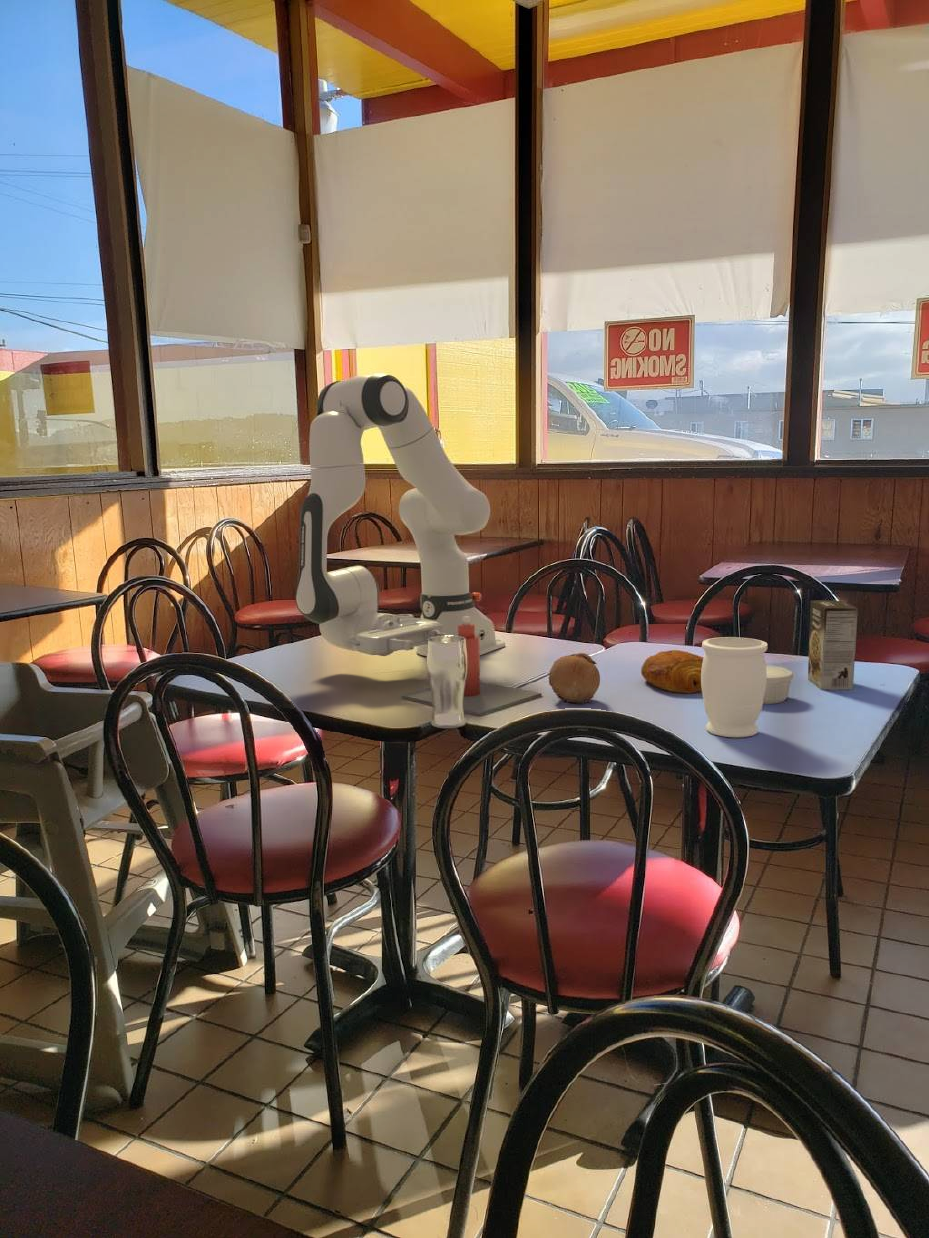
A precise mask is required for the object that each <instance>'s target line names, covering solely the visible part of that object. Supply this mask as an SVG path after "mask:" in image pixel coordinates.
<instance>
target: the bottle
mask: <svg viewBox="0 0 929 1238" xmlns="http://www.w3.org/2000/svg"><path fill="white" fill-rule="evenodd" d="M462 619H463V624H459V625H458V636H461V637H464V638H465V639H466V649H467V678H466V685H465V691H464V697H470V696H477V695H479V694H480V681H481V676H480V675H481V673H480V672H481V671H480V670H481V669H480V666H481V664H480V659H481V658H480V656H479V637H478V636H475V625H474V624H470V617H469V616H463V617H462Z"/></svg>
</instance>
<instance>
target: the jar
mask: <svg viewBox="0 0 929 1238" xmlns="http://www.w3.org/2000/svg"><path fill="white" fill-rule="evenodd" d="M701 643H702V644H701V648H702V649H703V650H704V656H703V663H702V670H701V687H702V691H701V694H702V700H703V707H704V710H705V714H706V716H707V718H708V719H709V720H708V723H706V727H705V728H706V731H707V732H709V733H711V734H713V735H716V736H720V737H724V738H725V737H726V738H749V737H752V736H755V735H756V734H757V733H758V732H759V728H758V726H757V723H756V722H757V721H758V719H759V717H760V715H761V712H762V708H763V705H764V704H763V698H764V694H765V690H766V681H767V672H766V665H767V663H766V659H765V655H764V653H765V652H767V651H768V643H767V642H766V641H764V640H760V639H755V638H751V637H750V638H749V637H740V636H739V637H738V636H737V637H736V636H725V637H724V636H721V637H720V636H719V637H713V638H711V637H710V638H707V639H704V640H702V642H701Z"/></svg>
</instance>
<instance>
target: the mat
mask: <svg viewBox="0 0 929 1238" xmlns="http://www.w3.org/2000/svg"><path fill="white" fill-rule="evenodd" d="M542 694H543V692H538V691H533V690H527V689H524V688H523V689H522V688H517V687H512V686H507V685H502V684H496V683H491V682H486V681H481V680H480V694H479V695H477V696H470V697H464V699H463V706H464V713H465V714H469V715H473V714H474V716H477V715H479V716H478V717H481V716H483V714H484V715H487V714H490V713H489V712H491V713H493V712H496V711H499V710H502V709H505V708H509V707H513V706H515V705H518V704H521V703H520V702H522V703H524V702H528V701H530V699H531V700H533V698H534V699H537V698H540V697H542ZM401 699H402V700H405V701H406V700H407V701H412V702H415V703H420V704H425V705H429V706H433V699H432V693H431V688H430V687H428V688H424V689H421V690H418V691H413V692H411V693H406V694H403V695H401ZM486 713H487V714H486ZM480 715H481V716H480Z"/></svg>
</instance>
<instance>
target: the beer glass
mask: <svg viewBox="0 0 929 1238" xmlns="http://www.w3.org/2000/svg"><path fill="white" fill-rule="evenodd" d="M426 670H427V671H426V672H427V677H428V683H429V688H431V693H432V699H433V705H432V712H431V713H432V714H431V720H430V725H431V726H433V727H434V728H438V729H457V728H461V727H463V726H465V725H466V724H467V719H466V715H465V714H466V713H464V706H463V699H464V691H465V685H466V678H467V649H466V639H465V638H464V637H461V636H436V637H431V638H429V639H428V645H427V656H426Z"/></svg>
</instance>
